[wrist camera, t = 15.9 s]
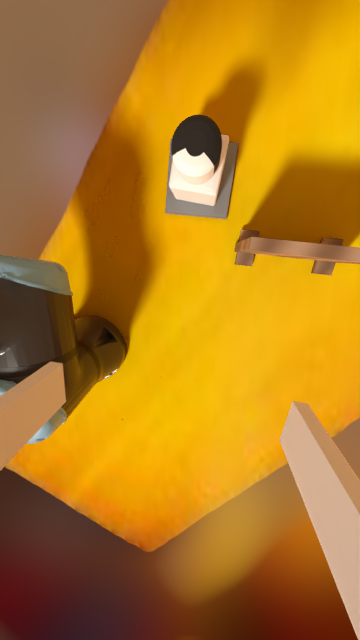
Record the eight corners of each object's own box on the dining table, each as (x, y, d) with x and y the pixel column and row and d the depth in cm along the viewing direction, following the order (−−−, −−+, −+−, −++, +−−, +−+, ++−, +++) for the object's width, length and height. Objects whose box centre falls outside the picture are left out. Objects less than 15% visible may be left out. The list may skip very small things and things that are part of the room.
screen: (232, 263, 39) (245, 268, 26) (238, 229, 37) (256, 216, 24) (331, 275, 37) (399, 286, 24) (342, 240, 36) (423, 231, 22)
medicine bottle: (183, 151, 34) (171, 98, 22) (225, 158, 33) (235, 109, 22) (175, 199, 36) (160, 173, 25) (214, 206, 36) (218, 184, 24)
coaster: (166, 213, 38) (165, 212, 37) (171, 141, 34) (170, 138, 33) (225, 219, 37) (226, 218, 36) (237, 145, 33) (238, 142, 33)
